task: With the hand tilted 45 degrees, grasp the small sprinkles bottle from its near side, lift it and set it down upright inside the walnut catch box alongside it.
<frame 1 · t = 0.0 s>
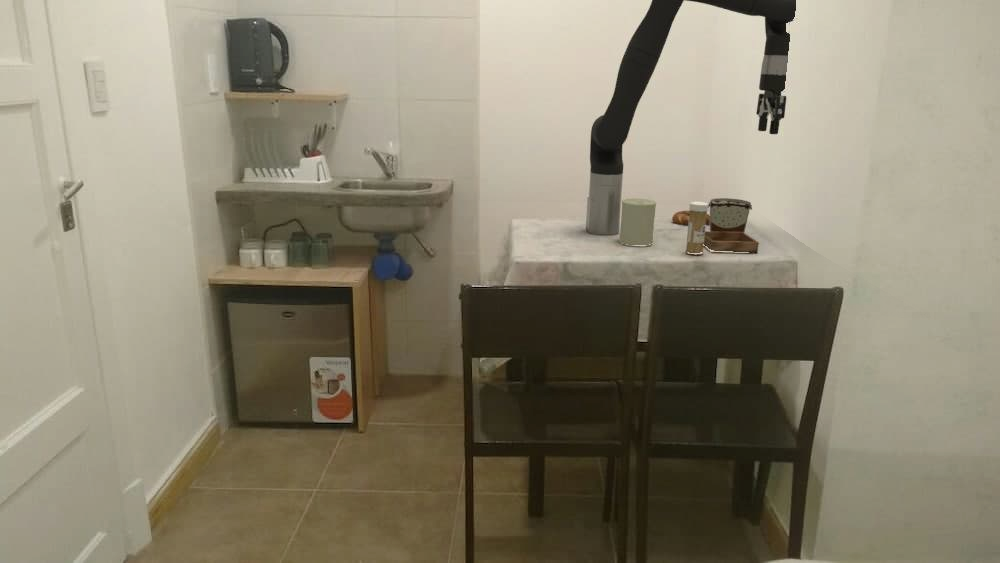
hand: (767, 132, 206), 29 cm above the table, tool pointing down, fingers open, 8 cm apart
pretzel: (691, 224, 228), on the table
can: (635, 243, 201), on the table
sprinkles bottle: (693, 254, 191), on the table
catch box: (726, 247, 198), on the table
food container: (724, 234, 214), on the table
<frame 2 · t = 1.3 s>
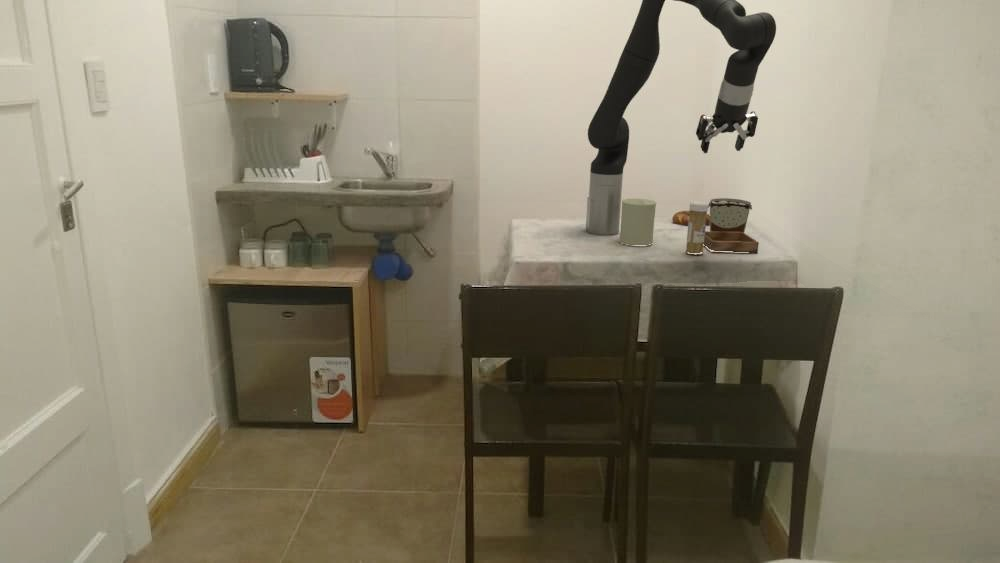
hand: (720, 150, 187), 26 cm above the table, tool tilted 30°, fingers open, 8 cm apart
nothing on the table moved.
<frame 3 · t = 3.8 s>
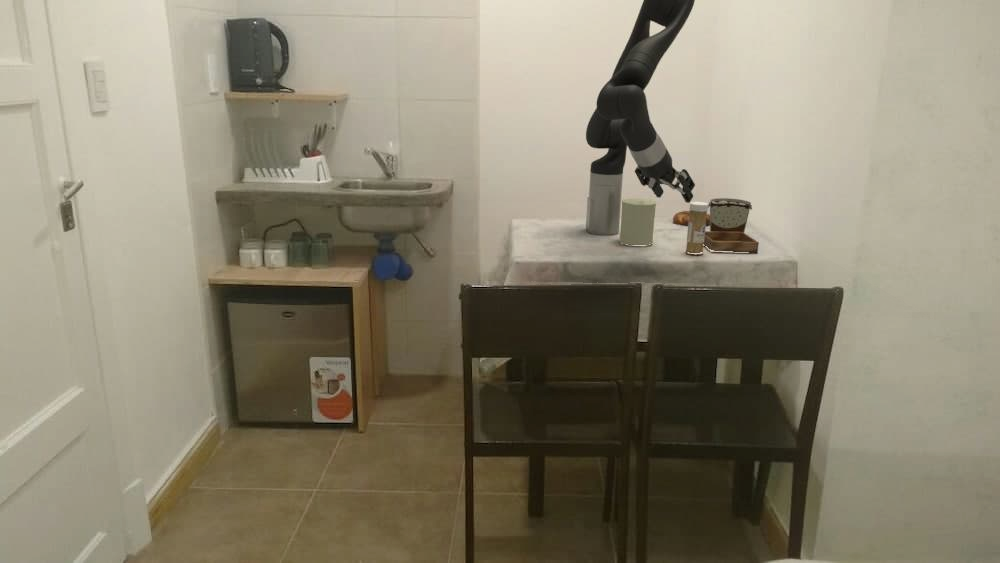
hand: (674, 197, 179), 16 cm above the table, tool tilted 45°, fingers open, 8 cm apart
nothing on the table moved.
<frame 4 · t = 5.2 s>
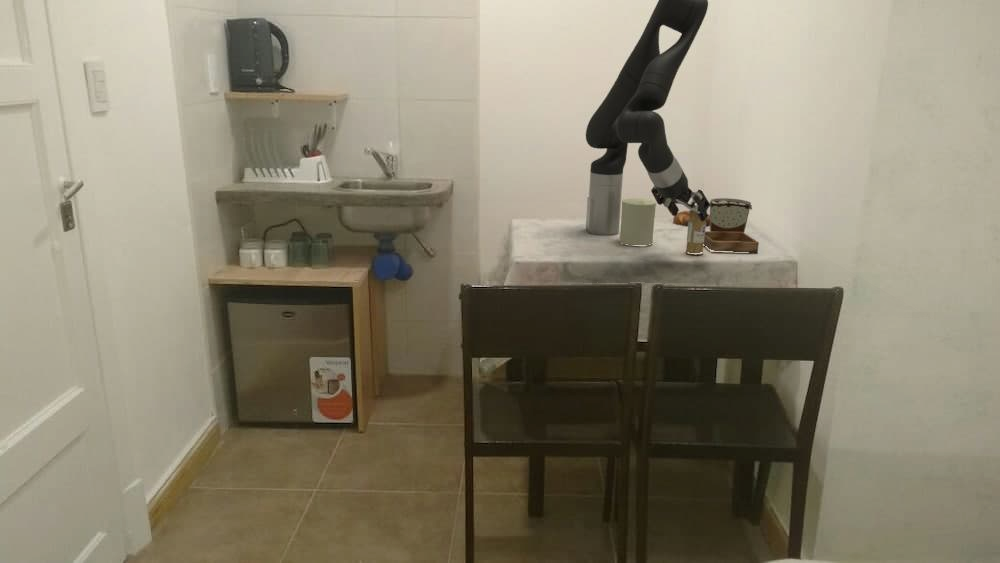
hand: (689, 215, 186), 10 cm above the table, tool tilted 45°, fingers open, 8 cm apart
nothing on the table moved.
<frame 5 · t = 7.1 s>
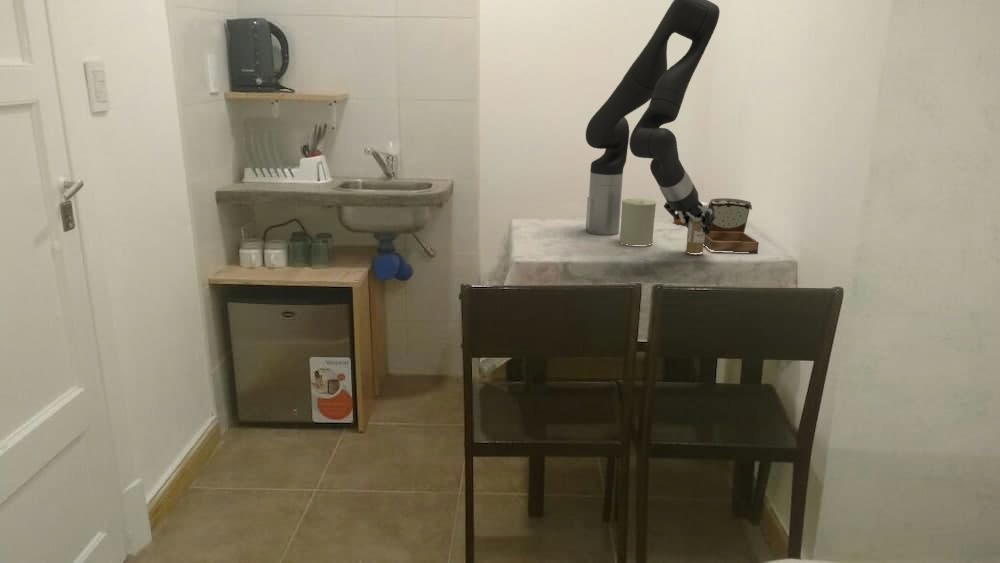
hand: (700, 229, 190), 6 cm above the table, tool tilted 45°, fingers closed on sprinkles bottle, 4 cm apart
sprinkles bottle: (693, 254, 191), on the table, touching gripper
everything else where it was.
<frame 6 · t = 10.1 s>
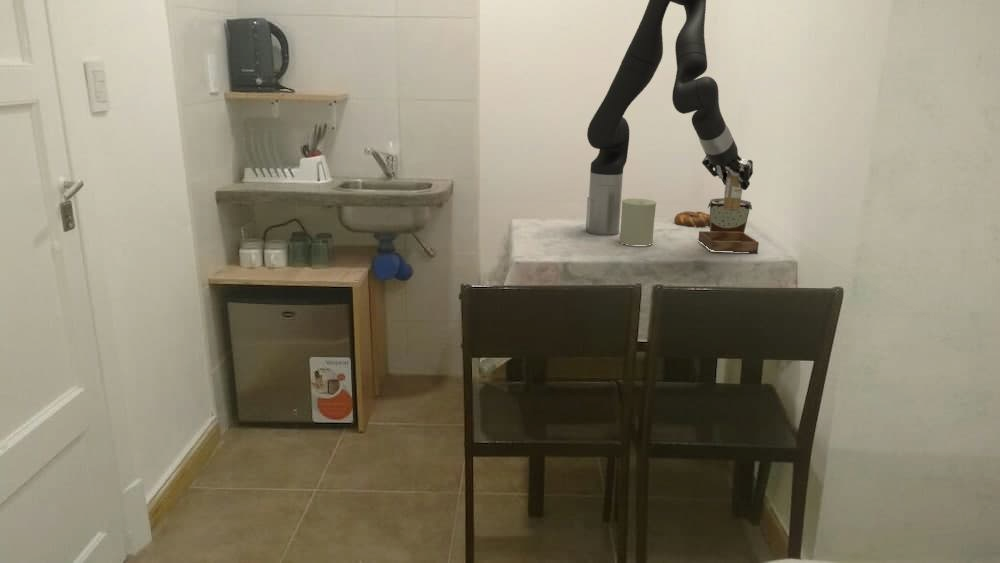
hand: (737, 185, 194), 17 cm above the table, tool tilted 45°, fingers closed on sprinkles bottle, 4 cm apart
sprinkles bottle: (731, 210, 195), point 10 cm above the table, touching gripper
when the fingers open (8 cm above the table, at t = 11.9 s): sprinkles bottle drops 1 cm, resting on catch box.
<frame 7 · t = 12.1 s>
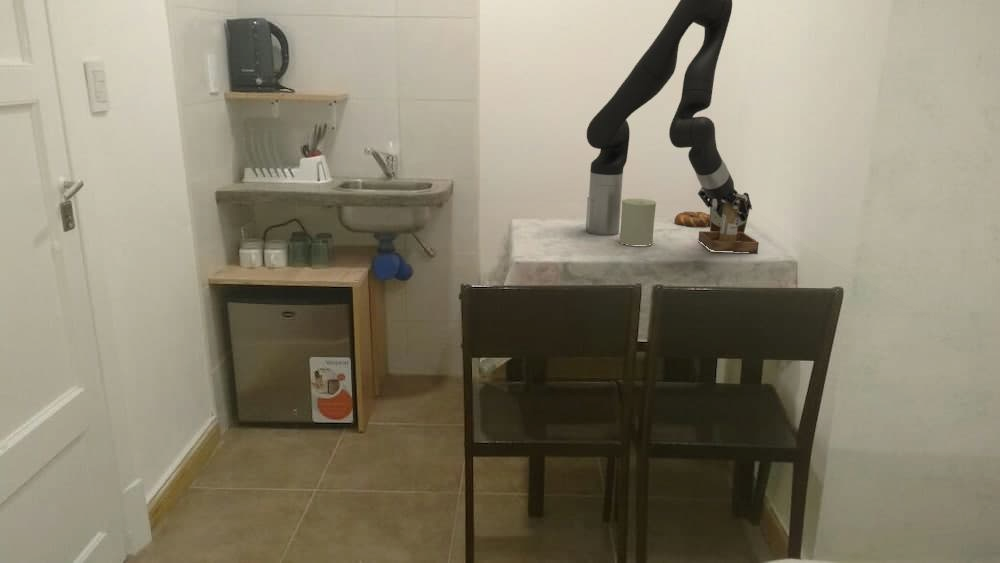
hand: (733, 216, 197), 8 cm above the table, tool tilted 45°, fingers open, 6 cm apart
sprinkles bottle: (726, 246, 198), resting on catch box
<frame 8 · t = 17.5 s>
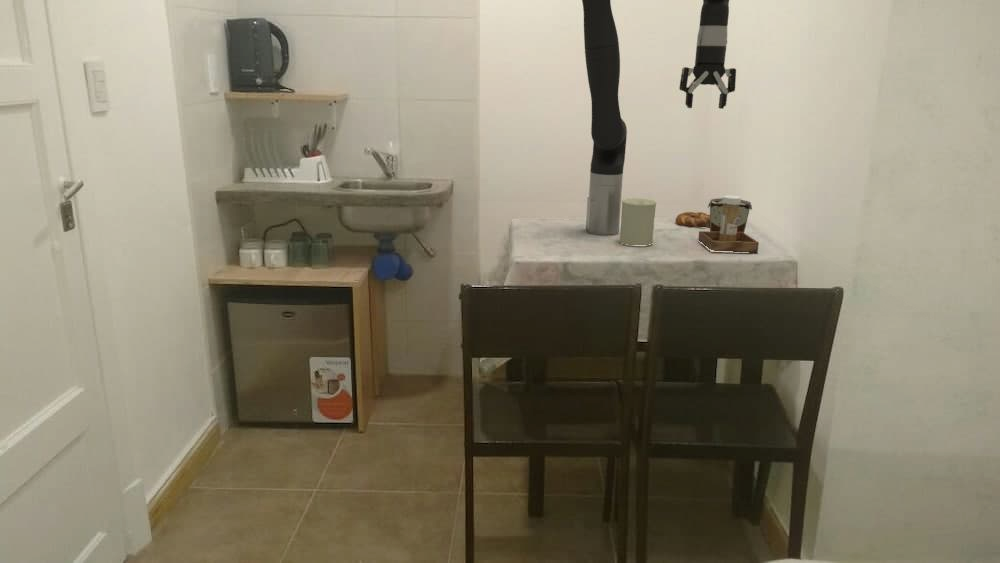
hand: (705, 108, 196), 36 cm above the table, tool pointing down, fingers open, 8 cm apart
at the end: sprinkles bottle inside the target area on the catch box (0.2 cm from its centre), point 0.4 cm above the catch box's base; sprinkles bottle tilted 0°; the gripper is holding nothing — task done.
